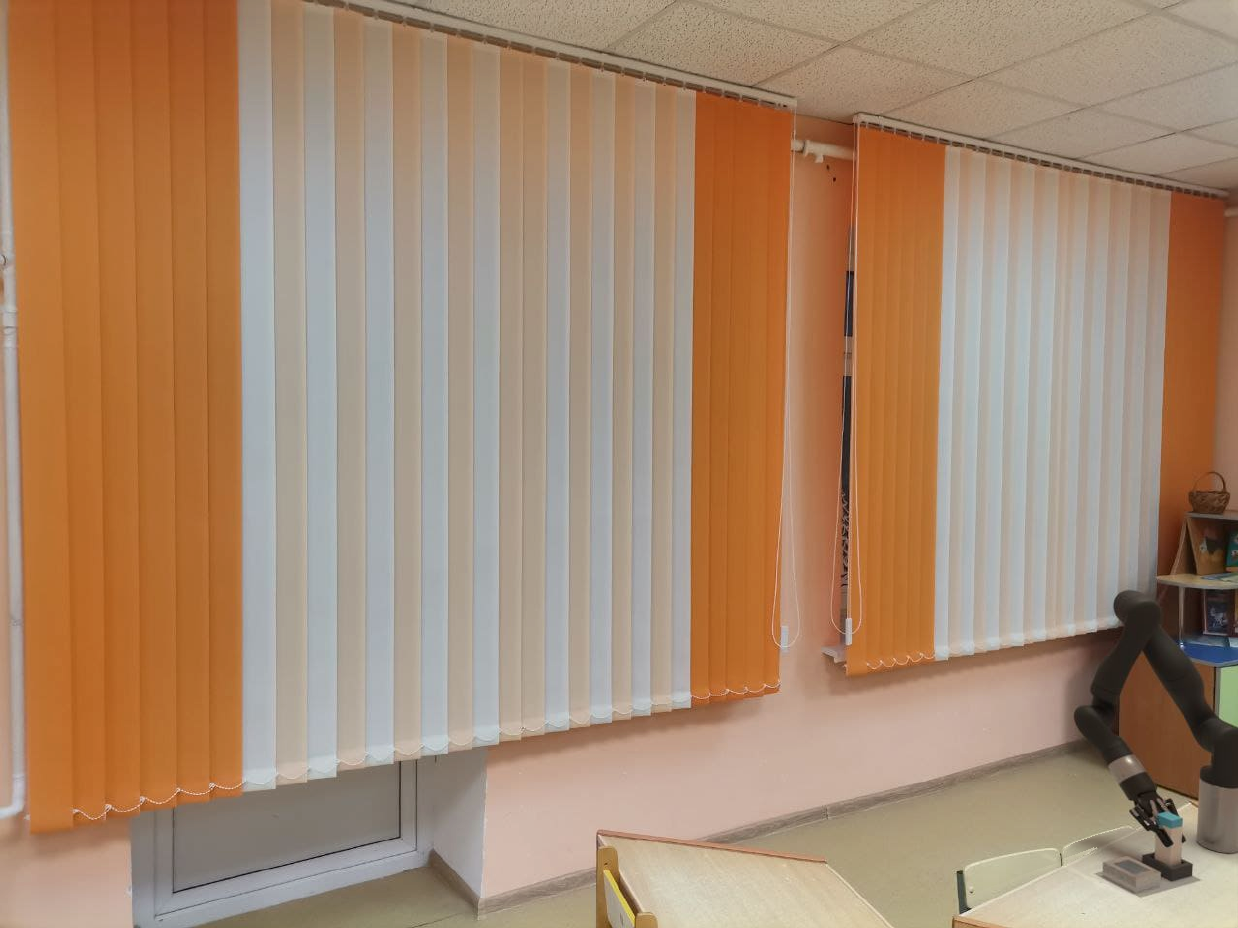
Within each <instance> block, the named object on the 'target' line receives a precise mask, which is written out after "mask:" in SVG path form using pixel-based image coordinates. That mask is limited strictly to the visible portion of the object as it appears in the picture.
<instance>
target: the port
mask: <svg viewBox="0 0 1238 928" xmlns="http://www.w3.org/2000/svg"><path fill="white" fill-rule="evenodd" d="M1102 871H1103V875H1102V876H1103V877H1105V878H1107V879H1109V880H1111V881H1113V882H1115V883H1117V884H1118V885H1120V886H1122V887H1124V888H1126V889H1128V890H1130V891H1132V892H1134V893H1139V892H1142V891H1146V890H1149V889H1153V888H1157V887H1160V877H1161V872H1160V871H1157V870H1155V869H1153V868H1151V867H1149V866H1147V865H1145V864H1143V863H1141V862H1140V861H1138V860H1137V859H1134V858H1133V857H1131V856H1128V855H1125V856H1121V857H1117V858H1115V859H1114V858H1113V859H1110V860H1105V861H1103V862H1102Z"/></svg>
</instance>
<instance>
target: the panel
mask: <svg viewBox="0 0 1238 928" xmlns="http://www.w3.org/2000/svg"><path fill="white" fill-rule="evenodd" d="M1139 862H1141V863H1142V860H1141V861H1139ZM1094 875H1096V876H1098V877H1099V878H1102V879H1104V880H1106V881H1107V882H1110V883H1112V884H1113V885H1115V886H1118V887H1119V888H1120V889H1123V890H1125V891H1126V892H1129V893H1130V894H1132V895H1134V896H1136V897H1138V898H1139V899H1140V898H1144V897H1148V896H1152V895H1155V894H1159V893H1161V892H1165V891H1169V890H1172V889H1176V888H1179V887H1182V886H1186V885H1190V884H1194V883H1197V882H1200V881H1202V879H1200V878H1198V877H1196V876H1195V875H1192V876H1190V877H1186V878H1183V879H1179V880H1176V881H1172V882H1171V881H1169V880H1167V879H1165V878H1163V877H1160V887H1157V888H1153V889H1149V890H1146V891H1142V892H1139V893H1134V892H1132V891H1130V890H1128V889H1126V888H1124V887H1122V886H1120V885H1118V884H1117V883H1115V882H1113V881H1111V880H1109V879H1107V878H1105V877H1103V876H1102V875H1103V870H1101V871H1097V872H1095V873H1094Z"/></svg>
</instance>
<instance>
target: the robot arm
mask: <svg viewBox="0 0 1238 928" xmlns="http://www.w3.org/2000/svg"><path fill="white" fill-rule="evenodd" d="M1112 608H1113V612H1114V614H1115V616H1116V618H1117V619H1118V621H1119V622H1120V623H1122V625H1123V630H1122V634H1121V636H1120V638H1119V641H1118V642H1117V644H1116V645H1115V646H1114V648H1113V649H1112V650H1110V652H1109V653H1108V654H1107V655H1106V656H1105V657H1104V658H1103V660H1102V661H1101V662H1100V664H1099V666H1098V667H1097V669H1096V672H1095V673H1094V674H1095V675H1094V676H1093V679H1092V680H1091V681H1092V682H1091V684H1090V687H1089V688H1090V689H1089V692H1090V694H1091V695H1092V701H1091V704H1089V705H1087V704H1086V705H1085V704H1084V705H1080V706H1077V708H1075V710H1074V713H1073V720H1074V721H1073V722H1074V724H1075V726H1076V728H1077V729H1078V731H1079V732H1080V733H1081V734H1082V735H1083V737H1084V738H1085V739H1086V740H1087V741H1088V742H1089V743H1090V744H1091V745H1092V746H1093V747H1094V749H1096V750H1097V751H1098V753H1099V755H1100V757H1102V759H1103V762H1105V764H1106V766H1107V767H1108V769H1109V771H1110V773H1111V774H1112V776H1113V778H1114V780H1115V781H1116V783H1117V784H1118V786H1119V787H1120V789H1121V790H1122V792H1123V794H1124V795H1125V797H1126V798H1127V800H1128V801H1130V802H1133V804H1134V806H1133V807H1131V809H1129V811H1128V812H1129V813H1130V815H1131V816H1132V817H1133V818H1134V819H1135V820H1136V821H1137V822H1138V823H1139V824H1140V825H1141V826H1142V828H1144V829H1145V831H1146V832H1153V834H1154V833H1156V834H1157V836H1158V837H1159V839H1160V841H1161V842H1162V844H1163V845H1164V846H1165V847H1170V846H1172V845H1173V844H1174V843H1173V841H1172V840H1171V838H1170V837H1169V835H1168V834H1167V832H1166V831H1165V829H1163V826H1162V824H1161V823H1160V821H1159V817H1158V815H1157V814H1159V813H1163V812H1169V813H1172V814H1174V815H1176V816H1179V817H1180V814H1179V812H1178V810H1177V807H1176V805H1175V802H1174V800H1173V799H1172V798H1169V797H1168V798H1167V799H1166V798H1163V797H1162V796H1160V795H1159V794H1158V792H1157V789H1158V786H1157V785H1156V783H1155V782H1154V780H1153V778H1152V777H1151V776H1150V775H1149V773H1148V772H1147V770H1146V769H1145V767H1144V765H1143V764H1142V763H1141V761H1140V760H1139V759H1138V758H1137V757H1136V755H1135V754H1134V752H1133V751H1132V750H1131V748H1130V747H1129V745H1128V744H1127V742H1126V741H1125V739H1124V738H1122V737H1121V736H1119V735H1117V734H1115V733H1113V732H1112V730H1111V727H1112V726H1113V724H1114V722H1115V719H1116V716H1117V710H1118V703H1119V699H1120V696H1121V693H1122V691H1123V690H1124V688H1125V687H1124V686H1125V685H1126V682H1127V679H1128V677H1129V675H1130V672H1131V671H1132V669H1133V668H1134V665H1135V664H1136V662H1137V660H1138V658H1139V657H1140V655H1141V654H1142V653H1143V655H1144V657H1145V659H1146V660H1147V662H1148V663H1149V665H1150V668H1151V670H1152V671H1153V672H1154V674H1155V676H1156V677H1157V679H1158V680H1159V683H1161V685H1162V686H1163V688H1164V689H1165V691H1166V692H1167V693H1168V695H1169V696H1170V698H1171V699H1172V701H1173V703H1174V704H1175V706H1176V707H1177V708H1178V710H1179V711H1180V713H1181V714H1182V716H1183V719H1185V722H1186V724H1187V726H1188V727H1189V729H1190V732H1191V734H1192V736H1193V737H1194V739H1195V741H1196V743H1197V744H1198V745H1199V746H1200V748H1201V749H1203V750H1205V751H1207V752H1208V753H1210V754H1212V762H1211V765H1202V767H1201V768H1200V771H1199V779H1198V780H1199V781H1198V782H1199V784H1198V785H1199V786H1198V787H1199V788H1198V806H1197V807H1198V808H1197V825H1196V843H1198V844H1199V845H1200V846H1202V847H1204V848H1205V849H1209V850H1211V851H1214V852H1217V853H1223V854H1236V853H1238V726H1236V725H1234V724H1231V723H1229V722H1227V721H1224V720H1223V719H1221V718H1220V717H1219V716H1218V715H1217V714H1216V713H1215V711H1214V710H1213V709H1212V708H1211V706H1210V704H1209V703H1208V701H1207V699H1206V696H1205V684H1204V680H1203V677H1202V675H1201V673H1200V672H1199V671H1198V668H1197V667H1196V666H1195V663H1193V661H1192V659H1191V658H1190V657H1189V655H1188V654H1187V653H1186V652H1185V651H1184V650H1183V649H1182V648H1181V646H1179V644H1178V643H1177V642H1176V641H1175V640H1174V639H1173V638H1172V637H1171V636H1170V635H1169V634H1168V633H1167V632H1166V630H1164V628H1163V627H1162V625H1161V621H1162V619H1163V610H1162V607H1161V606H1160V604H1159V603H1158V602H1157V601H1155V600H1154V599H1153V598H1150V597H1149V596H1148V595H1146V594H1144V593H1143V592H1141V591H1138V590H1133V589H1126V590H1123V591H1121V592H1118V594H1117V595H1116V596H1115V597H1114V599H1113V604H1112ZM1186 842H1187V839H1186V836H1185V835H1184V834H1183V832H1182V844H1184V843H1186Z"/></svg>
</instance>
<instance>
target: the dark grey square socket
mask: <svg viewBox="0 0 1238 928" xmlns="http://www.w3.org/2000/svg"><path fill="white" fill-rule="evenodd" d="M1141 858H1142V859H1141V861H1142V863H1143V864H1145V865H1147V866H1149V867H1151V868H1153V869H1155V870H1157V871H1160V872H1161V877H1163V878H1165V879H1167V880H1169V881H1171V882H1172V881H1176V880H1179V879H1183V878H1186V877H1190V876H1193V867H1194V866H1193V865H1194V864H1193V863H1191V862H1190V861H1188V860H1185V859H1183V858H1181V864H1179V865H1176V866H1172V867H1170V866H1168V865H1166V864H1164V863H1162V862H1160V861H1158V860H1155V851H1154V852H1149V853H1146V854H1143V855H1142V856H1141Z"/></svg>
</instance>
